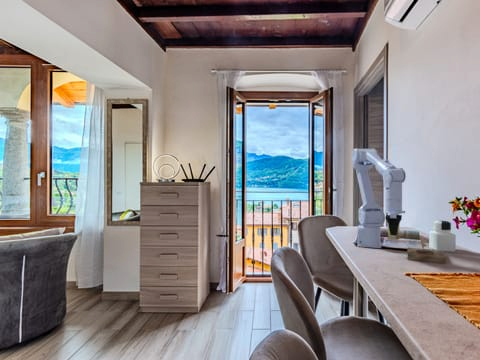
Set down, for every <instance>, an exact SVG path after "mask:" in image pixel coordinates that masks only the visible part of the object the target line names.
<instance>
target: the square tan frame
mask: <svg viewBox="0 0 480 360" xmlns="http://www.w3.org/2000/svg"><path fill="white" fill-rule="evenodd" d="M406 251H407V253H406V254H407V260H408V261H417V262H426V263H436V264H447V257H446V256H445V253H444V252H443V251H442V250H434V249H432V248H430V249H429V248H419V247H417V248H416V247H407V250H406Z"/></svg>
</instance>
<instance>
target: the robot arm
mask: <svg viewBox="0 0 480 360" xmlns="http://www.w3.org/2000/svg"><path fill="white" fill-rule="evenodd" d="M351 151H352V152H351V156H350V158H351V163H352V164H351V165H352V167H353V169H354V170H355V172H356V176H357V182H358V186H359V187H358V188H359V191H360V195H361V200H362V201H361V202H362V205H361V206H360V207H359V208H358V211H357V212H358V218H357V219H358V221H359V222H358V223H360V224H359V225H357V238H356V239H357V245H356V246H357V247H364V248H373V249H374V248H375V249H381V248H382V243H381V227H383V225H384V223H385V222H386V223H387V227H388V226H389V231H390V235H394V236H396V235H397V232H398V226H399V227H400V223H401V221H402V217H403V216H402V214H406V211H405V210H403V183H405V181H406V178H407V176H406V174H407V173H406V171H405V169H404V168H402V167H396V166H395V165H394V164H393V163H392V162H390V161H389V159H382V158H381V156H379V154H378V150H376V148H373V147H372V148H354V149H353V150H351ZM374 166H375V170H376V172H378V174H379V175H381V176H382V181H383V184H384V188H385V211H384V210H383V208H382V206H380V205H379V204H378V203H376V200H375V196H374V192H373V187H372V183H371V178H370V173H369V170H371V169H373V167H374ZM385 213H386V214H385Z"/></svg>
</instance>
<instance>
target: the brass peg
mask: <svg viewBox="0 0 480 360" xmlns="http://www.w3.org/2000/svg"><path fill="white" fill-rule="evenodd" d="M387 239H389V240H395V241H396V240H400V225H399V226H398V232H397V235H396V236H394V235H390V231H389V226H388V225H387Z"/></svg>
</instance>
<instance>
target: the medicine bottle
mask: <svg viewBox="0 0 480 360" xmlns="http://www.w3.org/2000/svg"><path fill="white" fill-rule="evenodd" d="M451 230H452V223H451V222H449V221H448V220H434V221H433V230H430V231H429V232H428V233H429V236H428V237H429V239H428V240H429V242H428V243H429V244H428V245H429V246H428V247H429V248H430V249H431V250H442V251H443V253H444V252H446V253H447V252H448V253H449V252H452V253H455V252H456V248H457V247H456V246H457V245H456V242H457V241H456V240H457V239H456V238H457V237H456V236H457V235H456V234H455V233H452V232H451Z"/></svg>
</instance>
